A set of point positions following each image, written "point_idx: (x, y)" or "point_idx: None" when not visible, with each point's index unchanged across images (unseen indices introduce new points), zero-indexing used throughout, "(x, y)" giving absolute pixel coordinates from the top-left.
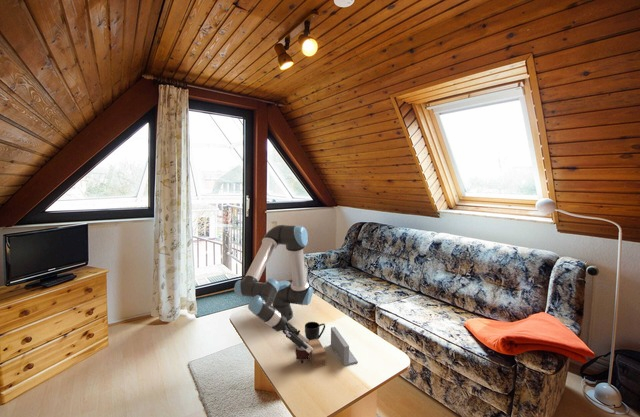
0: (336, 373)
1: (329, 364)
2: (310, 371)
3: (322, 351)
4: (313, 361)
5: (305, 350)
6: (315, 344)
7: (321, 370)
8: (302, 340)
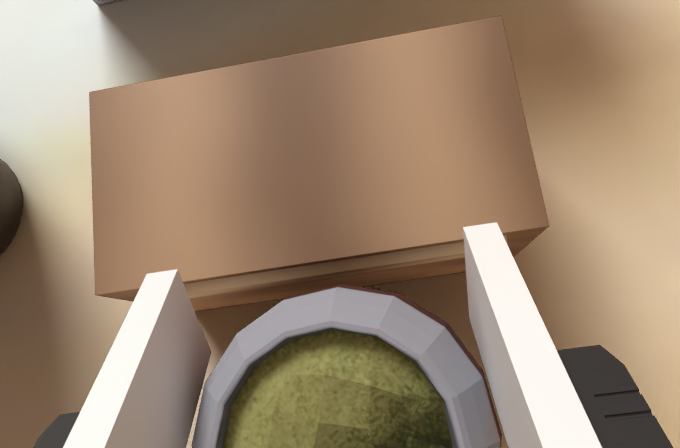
0: (642, 19)
1: None
2: (576, 322)
3: (484, 66)
4: None
5: (486, 389)
6: (250, 159)
7: (569, 180)
8: (171, 423)
